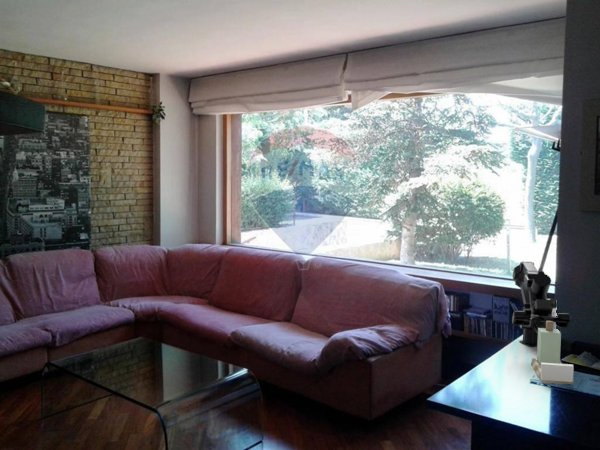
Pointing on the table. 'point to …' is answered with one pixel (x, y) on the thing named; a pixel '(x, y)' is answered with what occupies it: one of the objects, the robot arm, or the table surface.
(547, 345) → the sliding block
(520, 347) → the table surface
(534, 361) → the birch rail
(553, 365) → the wall
